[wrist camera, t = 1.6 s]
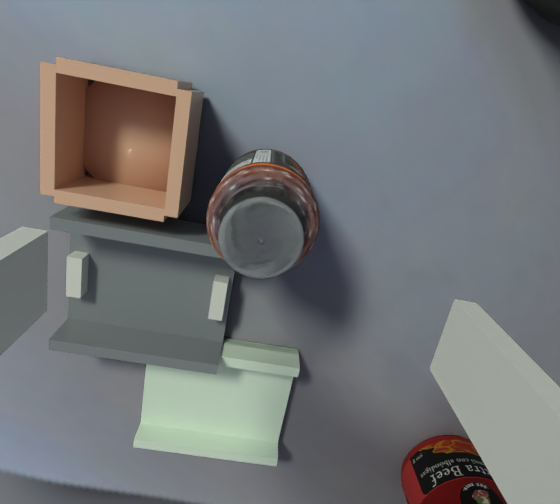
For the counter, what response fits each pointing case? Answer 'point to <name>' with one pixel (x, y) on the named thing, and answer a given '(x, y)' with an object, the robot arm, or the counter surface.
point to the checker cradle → (143, 290)
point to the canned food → (448, 474)
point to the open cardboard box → (117, 139)
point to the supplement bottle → (263, 215)
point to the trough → (221, 405)
